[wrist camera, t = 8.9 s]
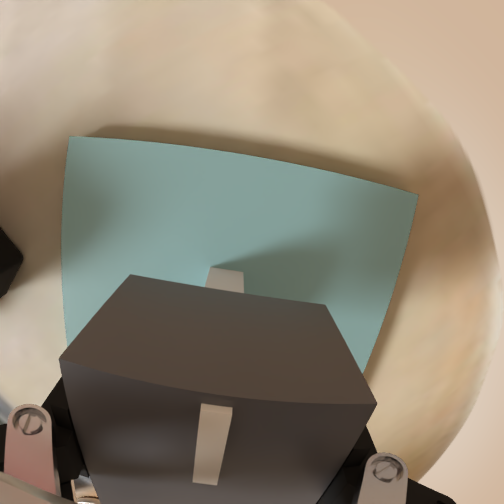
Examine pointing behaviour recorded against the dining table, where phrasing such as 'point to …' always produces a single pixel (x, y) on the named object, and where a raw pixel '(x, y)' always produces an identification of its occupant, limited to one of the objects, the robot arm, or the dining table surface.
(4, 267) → the battery
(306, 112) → the dining table surface
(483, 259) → the dining table surface
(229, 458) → the grey cube with strip
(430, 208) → the dining table surface
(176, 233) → the plate
